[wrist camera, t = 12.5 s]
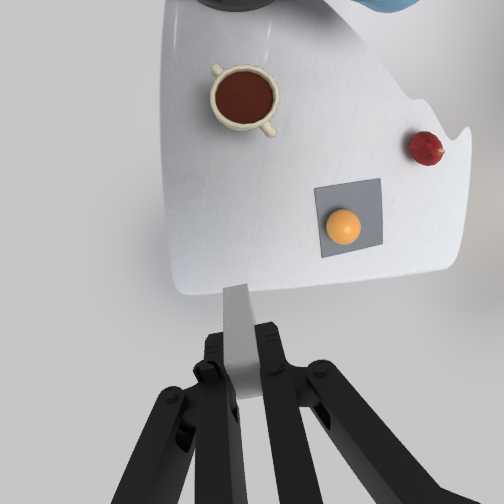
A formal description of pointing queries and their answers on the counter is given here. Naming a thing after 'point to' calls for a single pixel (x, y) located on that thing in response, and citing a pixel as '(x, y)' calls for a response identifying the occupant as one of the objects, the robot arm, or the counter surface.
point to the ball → (343, 226)
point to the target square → (360, 203)
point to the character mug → (244, 98)
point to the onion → (426, 148)
